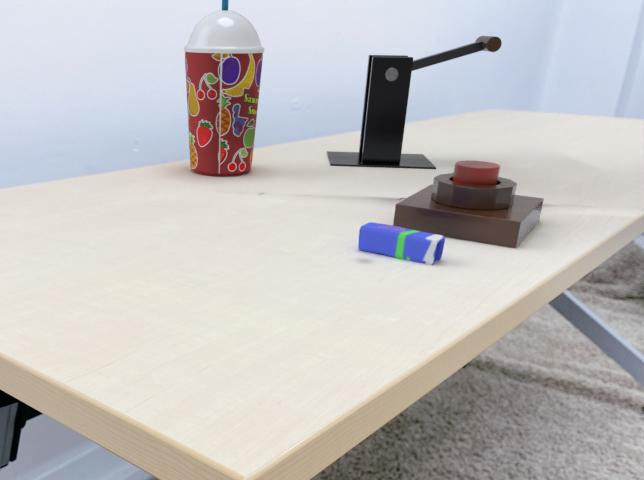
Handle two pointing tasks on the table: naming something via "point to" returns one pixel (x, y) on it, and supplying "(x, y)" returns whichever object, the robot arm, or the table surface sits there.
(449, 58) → the lever
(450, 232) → the button block
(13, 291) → the table surface
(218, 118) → the smoothie
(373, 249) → the eraser
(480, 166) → the button
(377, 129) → the bracket
